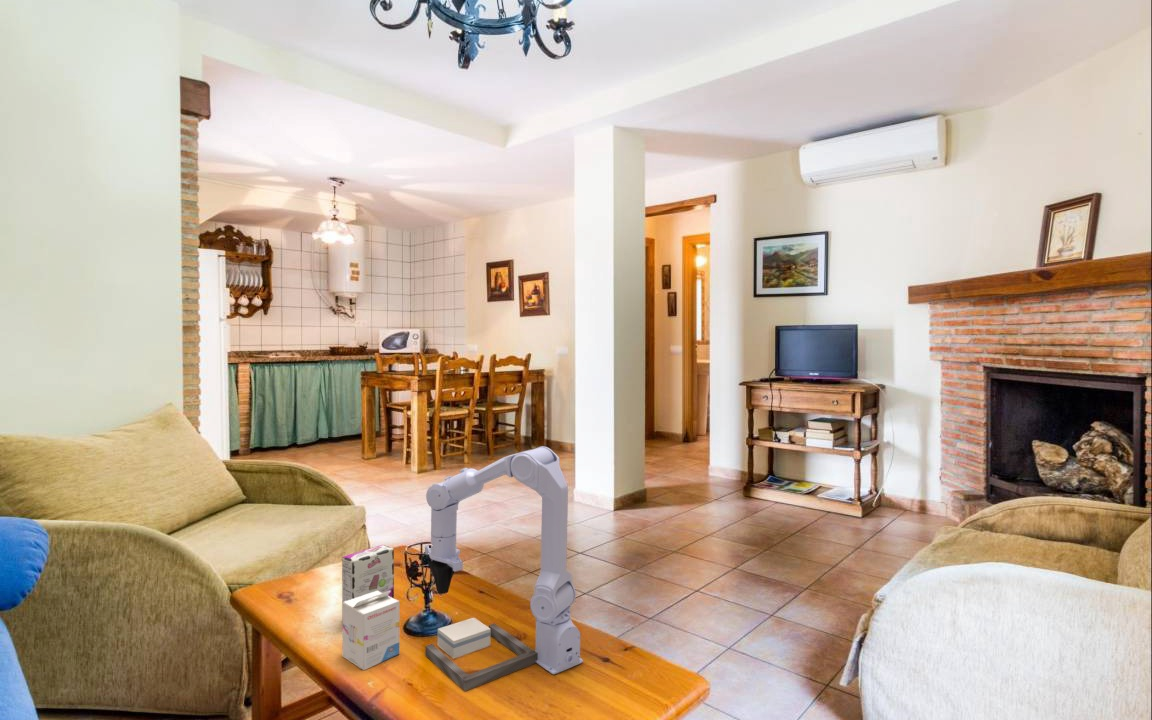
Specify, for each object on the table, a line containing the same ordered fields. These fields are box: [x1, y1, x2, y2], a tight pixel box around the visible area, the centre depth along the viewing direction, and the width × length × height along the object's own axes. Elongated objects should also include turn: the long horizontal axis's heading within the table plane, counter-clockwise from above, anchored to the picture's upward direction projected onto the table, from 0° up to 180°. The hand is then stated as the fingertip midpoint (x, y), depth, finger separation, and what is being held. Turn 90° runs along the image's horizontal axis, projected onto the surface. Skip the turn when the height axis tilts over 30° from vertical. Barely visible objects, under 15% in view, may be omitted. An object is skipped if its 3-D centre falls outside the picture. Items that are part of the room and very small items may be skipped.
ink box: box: [342, 590, 401, 671], centre depth 127 cm, size 9×8×13 cm
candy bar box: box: [341, 544, 395, 624], centre depth 143 cm, size 11×5×16 cm, turn 143°
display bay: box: [424, 623, 538, 692], centre depth 127 cm, size 17×17×2 cm
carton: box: [436, 617, 492, 660], centre depth 132 cm, size 7×9×4 cm
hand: (442, 592), depth 140 cm, fingers closed
